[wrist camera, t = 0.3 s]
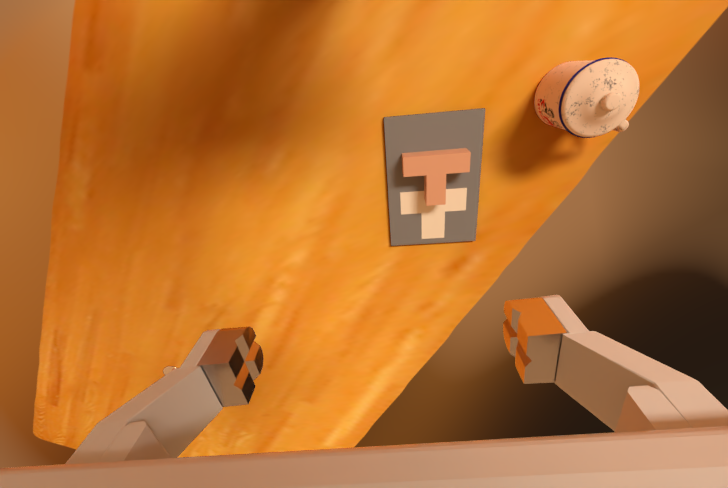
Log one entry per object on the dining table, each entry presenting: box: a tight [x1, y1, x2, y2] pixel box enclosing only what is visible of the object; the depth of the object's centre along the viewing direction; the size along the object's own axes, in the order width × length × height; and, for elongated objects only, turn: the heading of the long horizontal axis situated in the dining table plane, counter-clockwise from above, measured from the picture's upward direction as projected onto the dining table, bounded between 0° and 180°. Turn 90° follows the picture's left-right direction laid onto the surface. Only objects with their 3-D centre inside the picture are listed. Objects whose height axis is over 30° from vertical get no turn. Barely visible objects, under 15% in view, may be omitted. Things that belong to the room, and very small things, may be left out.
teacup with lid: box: [534, 58, 639, 138], centre depth 44 cm, size 12×9×12 cm
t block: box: [402, 148, 471, 206], centre depth 53 cm, size 8×10×3 cm
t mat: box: [384, 108, 485, 246], centre depth 55 cm, size 22×15×1 cm
